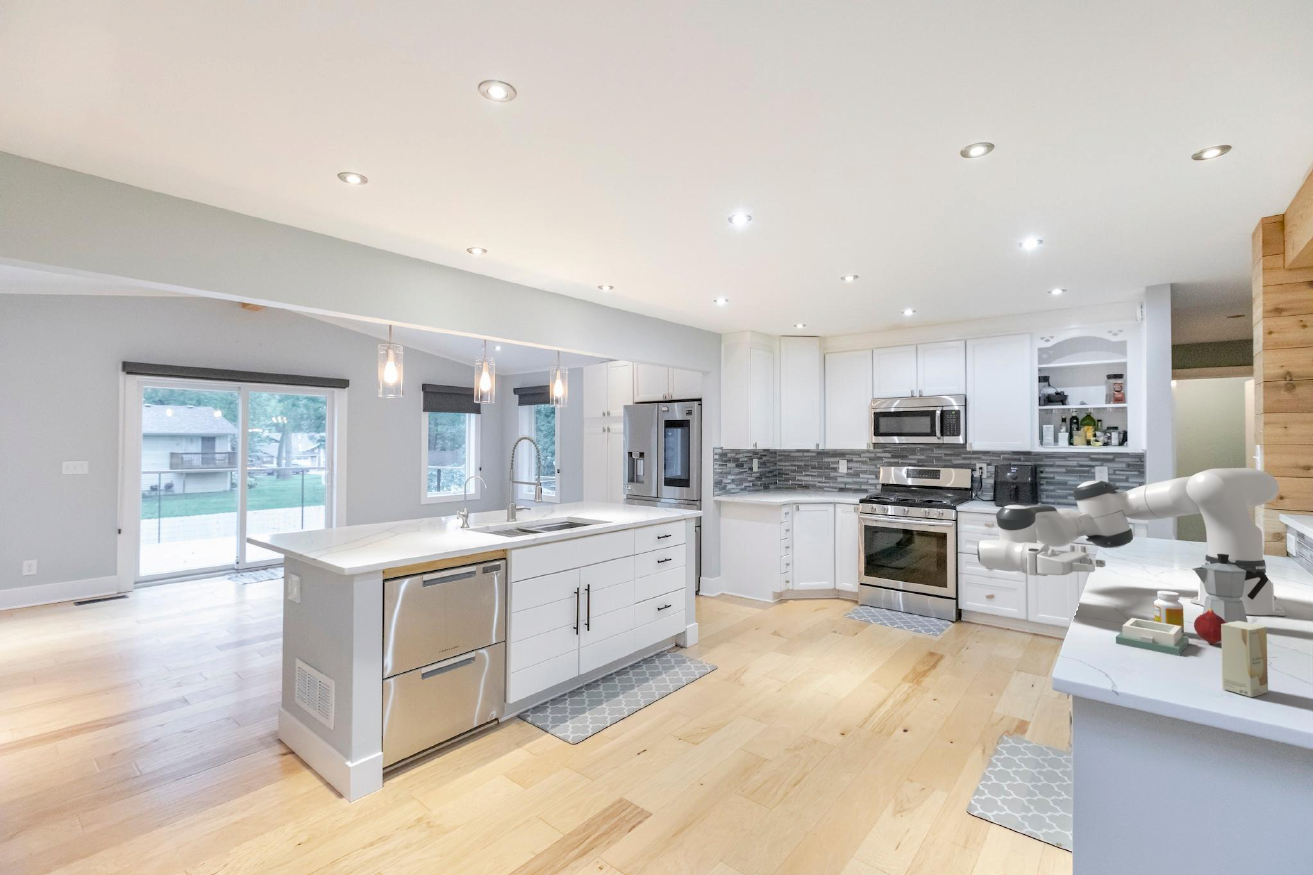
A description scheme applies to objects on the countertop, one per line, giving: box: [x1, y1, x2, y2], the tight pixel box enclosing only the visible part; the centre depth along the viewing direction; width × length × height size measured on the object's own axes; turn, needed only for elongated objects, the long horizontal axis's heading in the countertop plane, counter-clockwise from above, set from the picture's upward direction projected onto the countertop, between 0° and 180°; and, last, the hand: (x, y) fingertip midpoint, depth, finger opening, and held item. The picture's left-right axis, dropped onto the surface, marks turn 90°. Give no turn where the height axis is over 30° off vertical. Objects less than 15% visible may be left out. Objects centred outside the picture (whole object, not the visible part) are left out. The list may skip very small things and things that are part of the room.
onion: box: [1193, 608, 1226, 645], centre depth 135 cm, size 6×6×8 cm
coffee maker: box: [1191, 554, 1270, 623], centre depth 148 cm, size 15×9×18 cm, turn 68°
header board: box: [1115, 617, 1190, 656], centre depth 136 cm, size 12×11×4 cm
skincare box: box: [1221, 621, 1269, 698], centre depth 109 cm, size 6×4×12 cm
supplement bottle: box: [1153, 590, 1185, 636], centre depth 143 cm, size 5×5×10 cm
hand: (1099, 566), depth 154 cm, fingers open, 8 cm apart
